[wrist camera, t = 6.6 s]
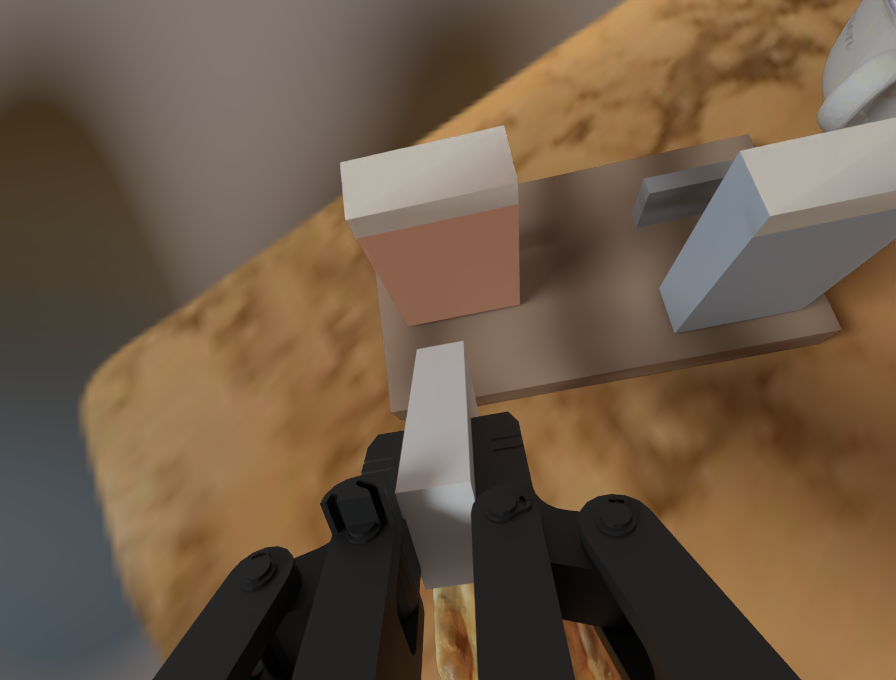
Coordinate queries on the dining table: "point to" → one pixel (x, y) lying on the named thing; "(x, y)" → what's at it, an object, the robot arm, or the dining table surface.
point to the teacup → (861, 69)
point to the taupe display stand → (598, 287)
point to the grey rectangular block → (786, 227)
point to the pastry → (460, 650)
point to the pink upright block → (439, 224)
